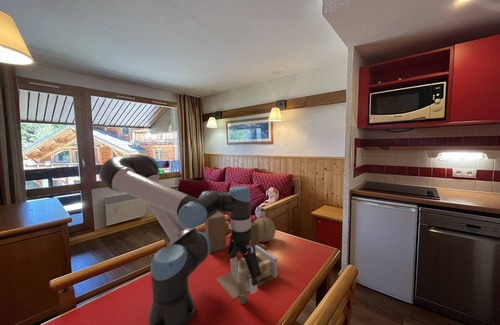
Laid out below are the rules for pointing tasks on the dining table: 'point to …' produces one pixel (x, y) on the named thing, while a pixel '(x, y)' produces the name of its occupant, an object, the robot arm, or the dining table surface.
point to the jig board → (232, 286)
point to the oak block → (262, 267)
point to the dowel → (242, 281)
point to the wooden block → (255, 236)
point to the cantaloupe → (265, 229)
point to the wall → (270, 257)
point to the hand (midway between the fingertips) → (243, 282)
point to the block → (216, 232)
